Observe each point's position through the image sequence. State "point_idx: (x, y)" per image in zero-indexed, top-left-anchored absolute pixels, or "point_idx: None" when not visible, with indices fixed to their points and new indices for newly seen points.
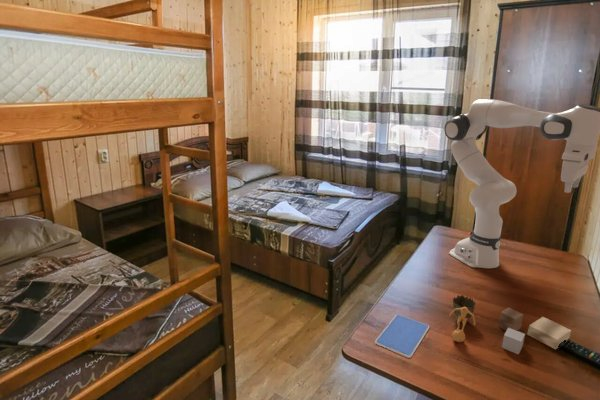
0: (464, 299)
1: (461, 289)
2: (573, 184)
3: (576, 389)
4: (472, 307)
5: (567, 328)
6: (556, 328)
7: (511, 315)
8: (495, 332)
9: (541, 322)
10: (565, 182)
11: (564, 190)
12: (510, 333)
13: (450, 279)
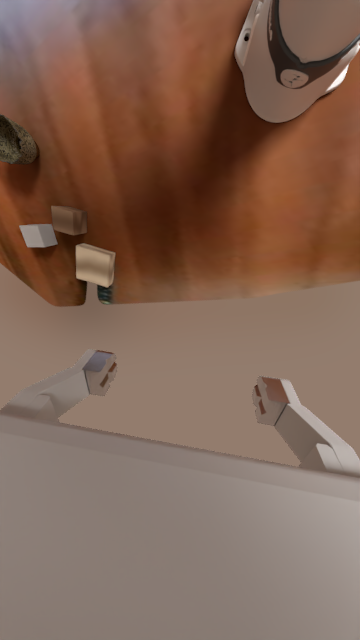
0: (20, 133)
1: (115, 93)
2: (261, 394)
3: (46, 295)
4: (26, 157)
5: (107, 283)
6: (96, 273)
7: (57, 222)
8: None
9: (94, 256)
10: (14, 400)
11: (84, 353)
12: (28, 231)
13: (136, 36)
